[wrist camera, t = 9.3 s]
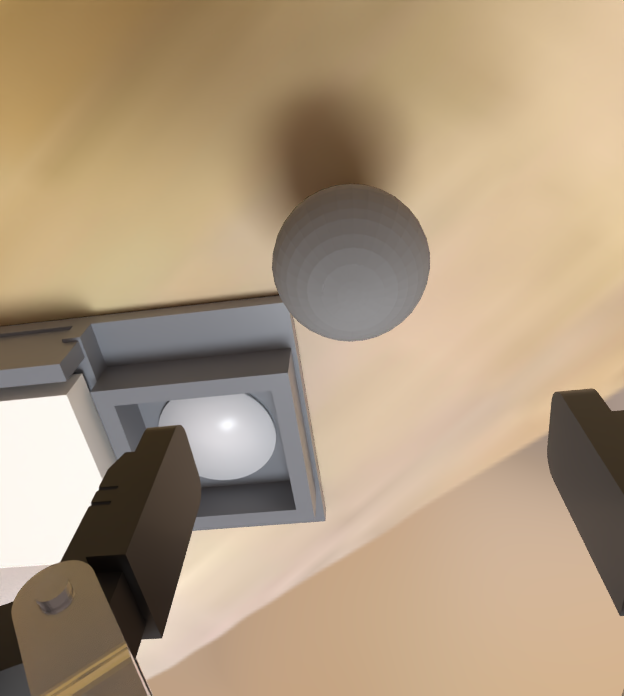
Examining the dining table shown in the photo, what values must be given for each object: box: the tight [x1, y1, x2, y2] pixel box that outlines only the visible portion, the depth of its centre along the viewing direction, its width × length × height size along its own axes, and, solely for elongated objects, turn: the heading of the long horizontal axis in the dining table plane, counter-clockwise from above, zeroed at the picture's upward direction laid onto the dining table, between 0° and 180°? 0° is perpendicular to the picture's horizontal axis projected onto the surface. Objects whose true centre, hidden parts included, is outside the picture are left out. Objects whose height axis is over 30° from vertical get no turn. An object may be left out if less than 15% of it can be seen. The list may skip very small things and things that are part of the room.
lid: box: [0, 373, 117, 568], centre depth 32 cm, size 12×9×2 cm
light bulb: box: [272, 184, 430, 341], centre depth 23 cm, size 6×6×10 cm
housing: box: [0, 295, 326, 531], centre depth 33 cm, size 16×21×5 cm
